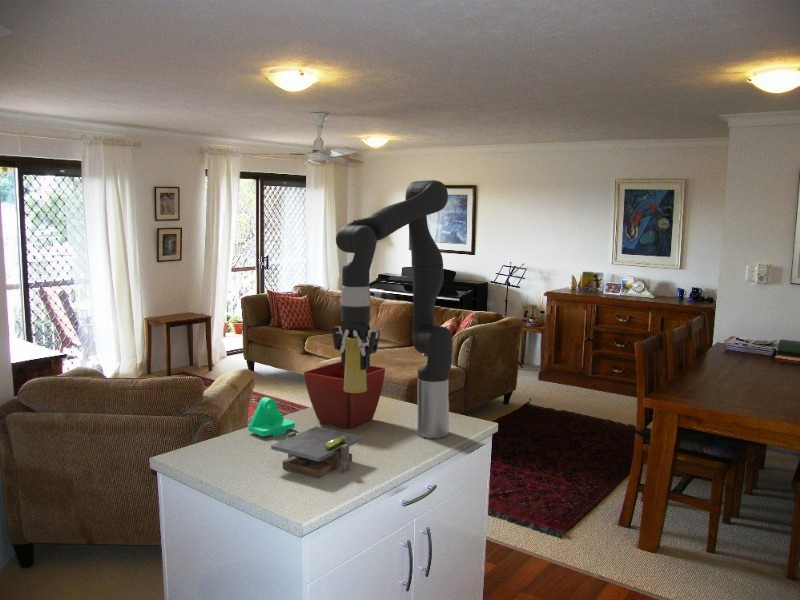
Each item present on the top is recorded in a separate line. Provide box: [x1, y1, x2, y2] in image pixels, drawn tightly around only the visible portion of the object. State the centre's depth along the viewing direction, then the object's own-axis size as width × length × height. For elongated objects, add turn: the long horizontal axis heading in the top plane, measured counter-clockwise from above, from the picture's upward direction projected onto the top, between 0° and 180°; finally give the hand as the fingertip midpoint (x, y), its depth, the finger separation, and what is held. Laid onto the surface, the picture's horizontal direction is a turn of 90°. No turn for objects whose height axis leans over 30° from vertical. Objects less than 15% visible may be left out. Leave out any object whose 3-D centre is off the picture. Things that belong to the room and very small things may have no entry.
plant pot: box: [303, 361, 386, 429], centre depth 211 cm, size 19×19×17 cm
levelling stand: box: [282, 431, 353, 479], centre depth 174 cm, size 14×19×7 cm
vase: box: [344, 337, 367, 393], centre depth 172 cm, size 6×6×14 cm
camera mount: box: [247, 396, 296, 437], centre depth 200 cm, size 12×8×10 cm, turn 136°
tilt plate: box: [270, 426, 363, 461], centre depth 173 cm, size 18×16×3 cm
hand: (355, 367), depth 172 cm, fingers closed on vase, 5 cm apart
